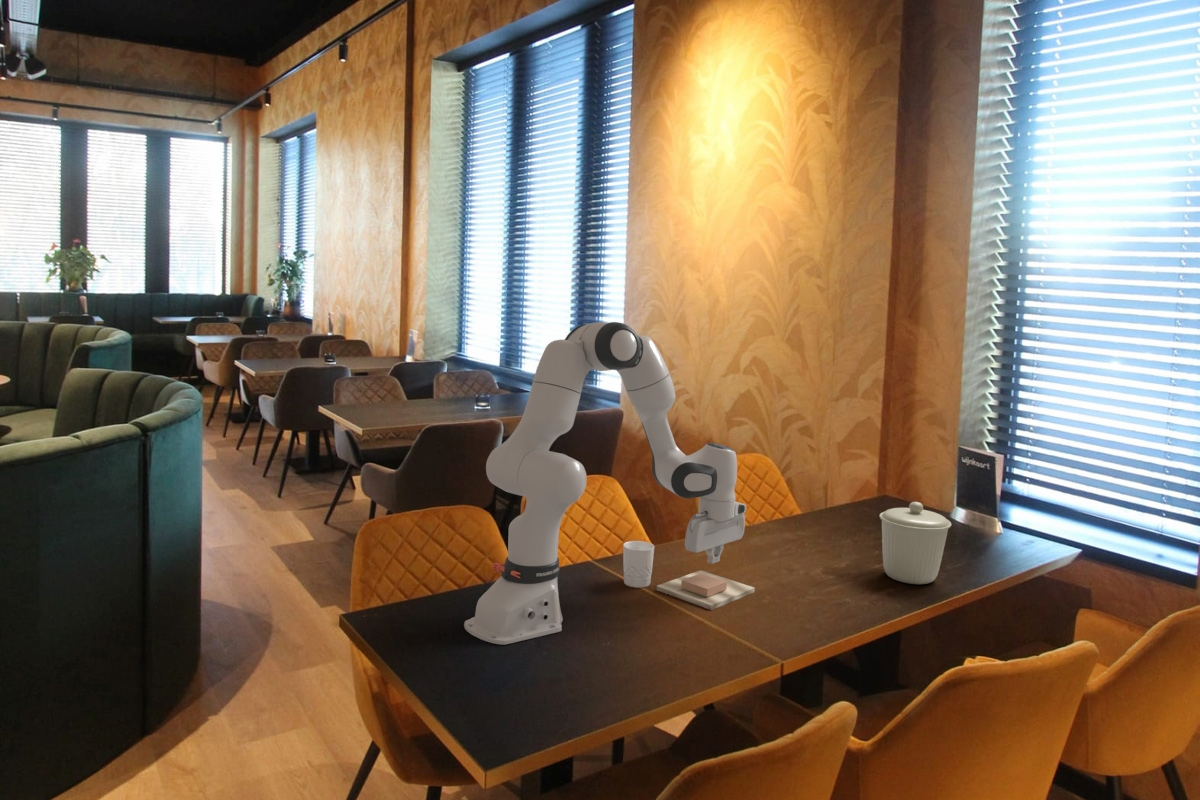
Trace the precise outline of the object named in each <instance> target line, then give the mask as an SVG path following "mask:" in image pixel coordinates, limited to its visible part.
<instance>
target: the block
mask: <svg viewBox="0 0 1200 800" xmlns="http://www.w3.org/2000/svg"><path fill="white" fill-rule="evenodd" d="M681 588H683V589H684V590H687V591H690V592H693V593H696V594H699V595H701V596H704V597H709V596H711V595H714V594H717V593H719V592H722V591H724V590H726V589H727V581H724V580H721V579H718V578H715V577H711V576H708V575H705V574H702V573H700V574H697V575H695V576H692V577H689V578H686V579H683V580H682V582H681Z"/></svg>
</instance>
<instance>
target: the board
mask: <svg viewBox="0 0 1200 800" xmlns="http://www.w3.org/2000/svg"><path fill="white" fill-rule="evenodd" d="M700 573H702V574H705V575H708V576H711V577H715V578H718V579H721V580H724V581H727V589H726V590H724V591H722V592H719V593H717V594H714V595H711V596H709V597H704V596H701V595H699V594H696V593H693V592H690V591H687V590H684V589H683V588H681V582H682V580H683V579H686V578H689V577H692V576H695V575H697V574H700ZM755 589H756V587H754V586H751V585H747V584H744V583H742V582H738V581H735V580H732V579H729V578H726V577H723V576H719V575H717V574H713V573H710V572H707V571H705V570H700V569H699V570H698V571H694V572H691V573H689V574H686V575H683V576H681V577H677V578H674V579H671V580H669V581H666V582H663V583H660V584H658V585H656V591H657V592H661V593H663V594H666V595H668V594H669V596H671V597H674V598H677V599H679V600H682V601H686V602H688V603H691V604H693V605H696V606H699V607H702V608H704V609H706V610H710V611H713V610H715V609H717V608H720V607H723V606H725V605H727V604H730V603H732V602H734V601H735V602H736V601H737V600H740V599H742V598H744V597H746V596H749V595H752V594H754V593H755Z"/></svg>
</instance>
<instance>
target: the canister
mask: <svg viewBox="0 0 1200 800" xmlns="http://www.w3.org/2000/svg"><path fill="white" fill-rule="evenodd" d="M879 519H880V521H881V539H882V541H881V542H882V543H881V544H882V549H881V550H882V563H883V564H882V565H883V570H884V572H885V573H886V575H887V576H888V577H889V578H891V579H892V580H894V581H898V582H900V583H905V584H908V585H909V584H911V585H926V584H930V583H932V582H933V581H935V580H936V578H937V576H938V574H939V572H940V567H941V562H942V560H943V555H944V550H945V546H946V541H947V537H948V531H949V529H950V528H951V527H952V522H951V521H950V520H949V519H947V518H946V517H945V516H943V515H942V514H940V513H937V512H935V511H931V510H926V509H924V505H923V504H922V503H921V502H918V501H912V502H910V503H909V504H908V507H894V508H893V507H892V508H889V509H886V510H885V511H883V512H881V513H879Z"/></svg>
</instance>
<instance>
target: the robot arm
mask: <svg viewBox="0 0 1200 800" xmlns="http://www.w3.org/2000/svg"><path fill="white" fill-rule="evenodd" d="M593 370H594V371H598V372H605V371H613V370H614V371H616V372H617V373H618V374H619V376H620V378H621V380H622V383H623V386H624V389H625V390H626V391H625V392H626V393H627V395H628V398H629V400H630V403H631V404H632V406H633V408H634V410H635V412H636V413H637V416H638V418H639V420H640V421H641V425H642V427H643V430H644V431H643V432H644V434H645V437H646V439H647V443H648V445H649V448H650V451H651V456H652V457H651V473H652V476H653V478H654V481H655V482H656V483H657V485H659V486H660V487H662V488H664V489H667V490H668V491H670V492H671V493H673V494H675V495H676V496H678V497H680V498H683V499H688V500H689V499H694V498H699V502H698V513H695V514H693V516H692V517H691V518H690V519H689V522H688V524H687V526H686V527H687V528H686V531H685V539H684V547H685V549H686V551H688V552H692V553H696V554H697V553H701V552H705V554H706V556H707V558H706V562H707V563H708V564H715V563H718V562H720V561H721V555H722V552H723V550H724V547H725V544H728V543H732V542H735V541H738V540H741V539H743V536H744V534H745V527H746V526H745V525H746V524H745V523H746V515H745V513H746V512H747V505H746V503H742V502H738V501H736V499H737V498H736V492H735V487H736V484H737V481H738V478H737V477H738V459H737V453H736V451H735V450H734V449H733V448H731V447H729V446H728V445H725V444H720V443H718V442H716V443H715V442H709V443H708V442H707V443H706V444H705V445H704V446H703V447H702V448H700V449H699V450H697V451H695V452H693V453H690V454H689V455H686V454H685V453H684V452H683V451H682V450H681V449H680V448H679V447H678V446H677V444H676V441H675V439H674V436H673V432H672V430H671V427H670V423H669V420H668V412H669V411H670V410H671V409H672V407H673V405H674V403H675V402H676V398H677V397H676V391H675V385H674V382H673V381H674V380H673V379H672V377H671V373H670V371H669V369H668V367H667V364H666V362H665V360H664V358H663V355H662V353H661V352H660V351H659V349H658V347H657V345H656V344H655V342H654V341H653V340H652V339H651V338H650V337H649V336H647V335H642V334H638V333H637V332H636V331H635V330H634V329H633V328H632V327H630V326H629V325H628V324H625V323H623V322H617V321H611V322H604V321H603V322H602V321H597V322H592V323H588V324H581V325H579V326H576V327H575V328H573V329H571V331H569V333H568V334H567V335H566V337H565V338H564V339H556V340H553V341H550V343H548V344H547V345H546V347H545V348H544V351H543V353H542V355H541V357H540V360H539V362H538V364H537V366H536V370H535V373H534V376H533V379H532V384H531V388H530V392H529V396H528V399H527V402H526V405H525V408H524V411H523V414H522V416H521V419H520V420H519V423H518V425H517V426H516V427H515V429H514V431H513V432H512V433H511V434H510V435H509V437H508V438H507V439H506V440H505V441H504V442H503V443H502V444H500V445H498V446H497V447H495V448H494V449H493V450H491V452H490V454H489V456H488V457H487V460H486V464H485V471H486V476H487V480H488V481H489V482H490V483H491V484H492V485H494V486H495V487H497V488H499V489H501V490H503V491H504V492H507V493H509V494H513V495H517V496H521V497H525V499H526V502H525V503H526V504H525V507H524V511H523V513H521V514H519V515H518V516H516V517H514V519H512V521H511V522H510V523H509V526H508V537H507V538H508V539H507V540H508V542H507V543H508V544H507V545H508V546H507V548H508V549H507V556H506V559H505V560H504V564H503V563H500V562H498V561H495V562H494V563H493V564H492V570H493V571H494V572H497V573H498V574H500V577H499V578H498V579H496V581H494V583H493V584H492V585H491V586H490V587H489V588H488V589H487V590H486V592H484V593H483V594H482V595H481V597H480V596H479V599H478V601H477V603H476V607H475V614H474V616H473V617H471V618H470V619H467V620H465V621H464V623H463V627H464V629H465V630H466V632H467V633H469V634H470V635H471V636H473V637H476V638H478V639H480V640H481V641H484V642H488V643H491V644H496V645H508V644H514V643H518V642H521V641H525V640H531V639H535V638H540V637H543V636H547V635H551V634H555V633H556V634H557V633H559V632H562V631H563V629H562V627H563V626H562V622H563V619H564V618H563V615H562V611H561V610H562V608H561V606H560V597H559V595H560V594H559V588H558V587H559V586H558V585H559V584H558V576H560V558H559V556H558V554H559V553H558V552H559V539H560V538H559V537H560V528H561V524H562V520H563V517H564V515H565V513H566V511H567V510H568V508H569V507H571V506H572V505H573V504H574V503H576V502H577V501H578V500H579V499H580V498H581V497H582V495H583V494H584V492H585V490H586V487H587V482H588V481H587V479H588V478H587V471H586V469H585V467H584V465H583V464H582V462H580V461H578V460H576V459H575V458H573V457H570V456H568V455H567V454H565V453H561V452H555V451H550V448H551V446H552V445H553V444H554V442H555V441H556V440H557V439H558V438H559V437H560V436H562V435H565V434H566V433H568V432H569V431H570V430H571V429H572V428H573V426H574V423H575V419H576V415H577V413H578V412H577V411H578V407H579V404H580V403H579V402H580V399H581V394H582V390H583V386H584V381H585V379H586V377H587V375H588V373H589V372H590V371H593Z"/></svg>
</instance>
